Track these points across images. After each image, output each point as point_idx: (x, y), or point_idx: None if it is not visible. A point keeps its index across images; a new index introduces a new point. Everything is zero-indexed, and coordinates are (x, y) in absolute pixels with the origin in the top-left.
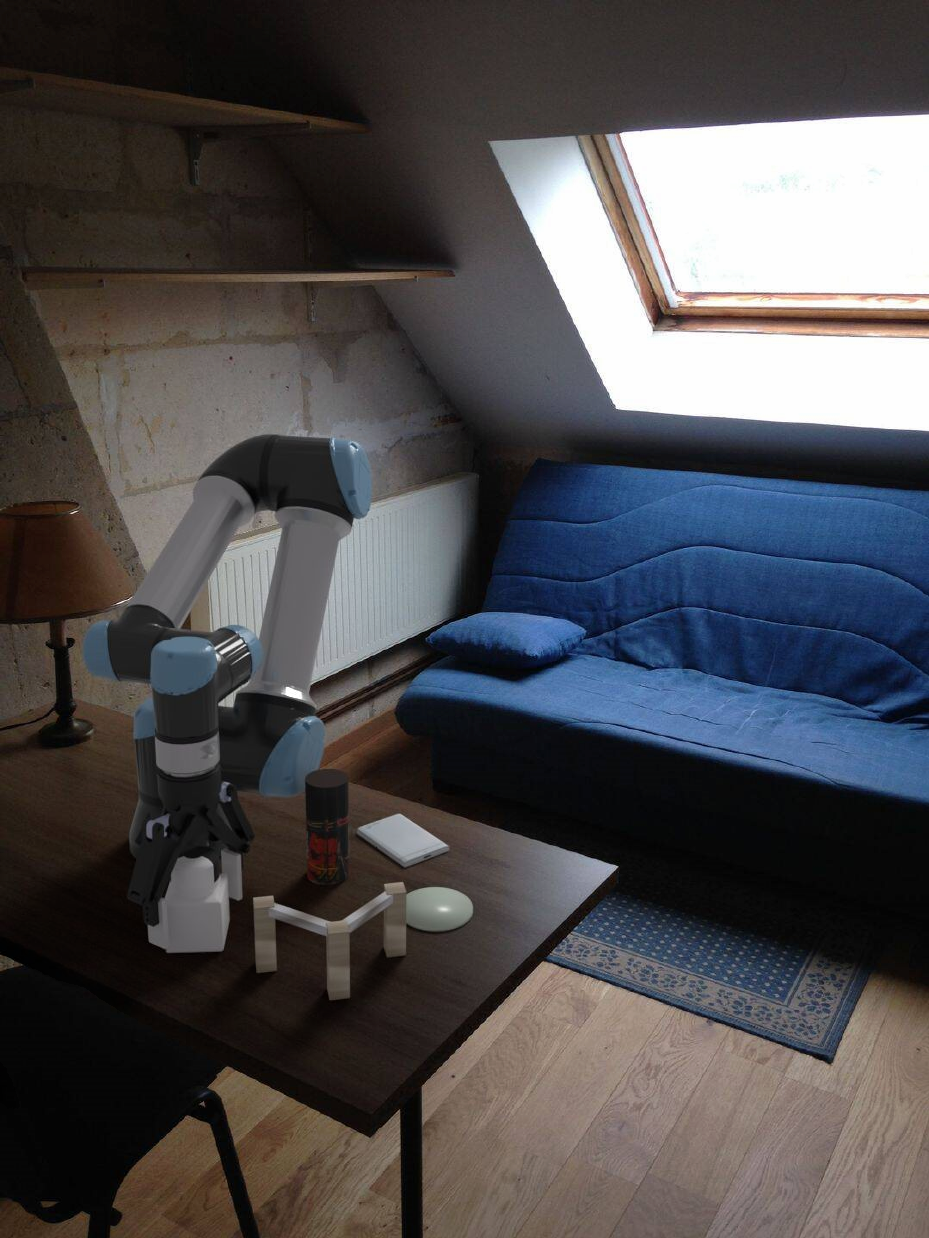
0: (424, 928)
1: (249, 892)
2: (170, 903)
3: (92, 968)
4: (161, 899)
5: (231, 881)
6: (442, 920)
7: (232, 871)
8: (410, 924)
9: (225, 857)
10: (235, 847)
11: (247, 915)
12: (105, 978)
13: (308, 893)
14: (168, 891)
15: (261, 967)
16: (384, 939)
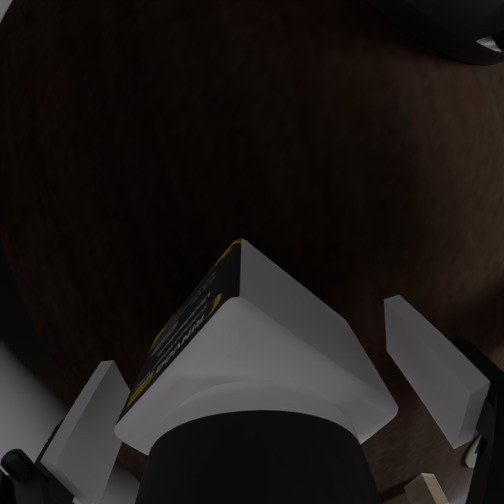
0: (466, 462)
1: (448, 244)
2: (135, 448)
3: (24, 275)
4: (84, 499)
5: (409, 360)
6: None
7: (426, 389)
8: (469, 451)
9: (453, 396)
10: (475, 464)
11: (385, 326)
12: (37, 320)
13: (492, 325)
14: (153, 403)
15: None
16: (421, 486)
